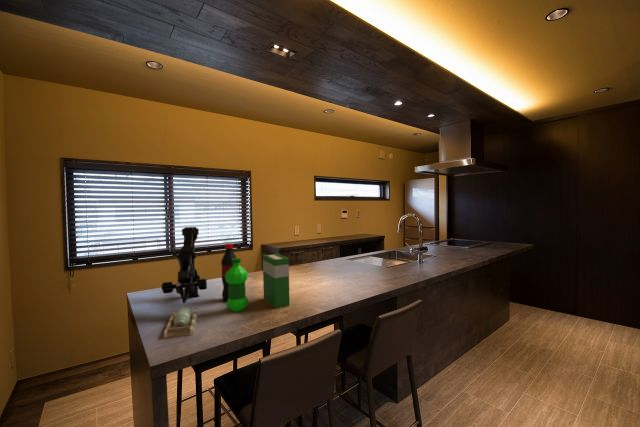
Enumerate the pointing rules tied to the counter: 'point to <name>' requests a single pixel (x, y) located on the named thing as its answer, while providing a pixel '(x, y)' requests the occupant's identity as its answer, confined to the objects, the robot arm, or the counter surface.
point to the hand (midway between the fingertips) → (184, 302)
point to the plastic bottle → (236, 286)
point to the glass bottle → (182, 317)
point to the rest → (180, 331)
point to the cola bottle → (226, 268)
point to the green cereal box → (276, 280)
